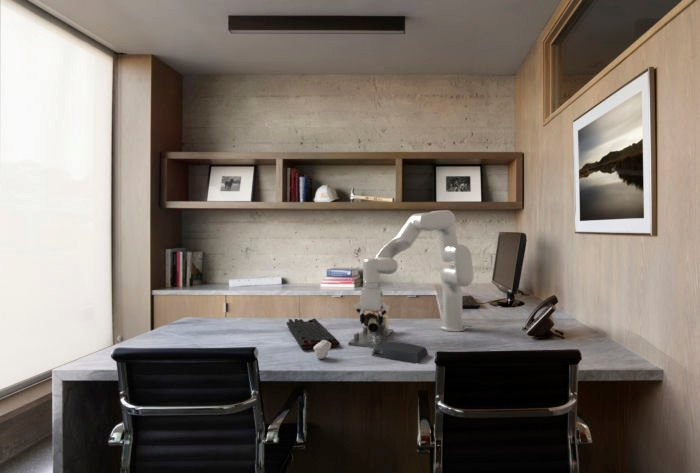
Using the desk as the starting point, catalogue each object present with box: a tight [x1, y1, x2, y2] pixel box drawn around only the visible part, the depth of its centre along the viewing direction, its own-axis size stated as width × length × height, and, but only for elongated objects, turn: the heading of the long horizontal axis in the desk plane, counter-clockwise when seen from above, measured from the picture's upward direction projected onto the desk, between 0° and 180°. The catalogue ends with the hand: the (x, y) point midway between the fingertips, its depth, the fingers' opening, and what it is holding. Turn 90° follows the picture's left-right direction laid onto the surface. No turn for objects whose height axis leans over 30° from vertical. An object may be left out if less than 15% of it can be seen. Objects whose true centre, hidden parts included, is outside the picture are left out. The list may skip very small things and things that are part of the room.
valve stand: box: [348, 307, 394, 349], centre depth 182 cm, size 13×29×11 cm, turn 160°
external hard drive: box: [371, 340, 429, 364], centre depth 156 cm, size 13×19×4 cm
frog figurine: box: [313, 340, 332, 360], centre depth 153 cm, size 6×7×7 cm
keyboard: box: [286, 318, 341, 352], centre depth 185 cm, size 42×16×5 cm, turn 17°
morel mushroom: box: [363, 312, 379, 333], centre depth 179 cm, size 18×7×6 cm, turn 177°
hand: (371, 323), depth 181 cm, fingers closed on morel mushroom, 7 cm apart
